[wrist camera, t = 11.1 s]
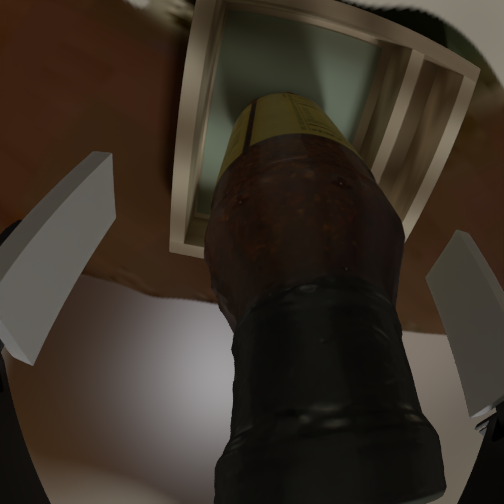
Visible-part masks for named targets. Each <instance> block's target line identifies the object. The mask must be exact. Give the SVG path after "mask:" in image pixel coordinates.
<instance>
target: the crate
mask: <svg viewBox="0 0 504 504" xmlns="http://www.w3.org/2000/svg"><path fill="white" fill-rule="evenodd" d="M479 73H480V68H478V67H476V66H475V65H473V64H472V63H470V62H469V61H467V60H466V59H464V58H462V57H461V56H459V55H457V54H456V53H454V52H452V51H450V50H449V49H447V48H445V47H443V46H442V45H440V44H438V43H436V42H434V41H432V40H430V39H428V38H427V37H425V36H423V35H421V34H419V33H417V32H414V31H412V30H410V29H408V28H406V27H404V26H402V25H399V24H397V23H395V22H392V21H390V20H388V19H385V18H383V17H380V16H378V15H375V14H373V13H370V12H367V11H365V10H362V9H359V8H356V7H353V6H350V5H347V4H344V3H341V2H338V1H335V0H196V4H195V9H194V14H193V19H192V25H191V30H190V36H189V42H188V48H187V55H186V61H185V68H184V75H183V82H182V90H181V98H180V106H179V115H178V124H177V134H176V145H175V157H174V169H173V184H172V201H171V222H170V252H173V253H178V254H183V255H188V256H194V257H199V258H204V246H205V244H204V238H205V233H206V229H207V225H208V221H209V218H210V214H211V212H210V211H211V200H212V196H213V192H214V188H215V185H216V182H217V178H218V175H219V172H220V168H221V165H222V162H223V159H224V156H225V152H226V149H227V146H228V142H229V139H230V136H231V133H232V129H233V127H234V124H235V122H236V120H237V119H238V117H239V115H240V114H241V113H242V112H243V110H244V109H245V108H246V107H247V106H248V105H249V104H250V103H251V102H252V101H253V100H255V99H257V98H260V97H263V96H265V95H269V94H273V93H285V92H291V93H294V94H297V95H299V96H302V97H305V98H307V99H309V100H311V101H313V102H314V103H316V104H317V105H318V106H319V107H320V108H321V109H322V110H323V111H324V112H325V113H326V115H327V116H328V117H329V118H330V119H331V121H332V122H333V123H334V124H335V125H336V127H337V128H338V129H339V130H340V132H341V133H342V134H343V135H344V137H345V138H346V139H347V140H348V141H349V143H350V144H351V145H352V146H353V148H354V149H355V150H356V151H357V152H358V154H359V155H360V157H361V158H362V159H363V160H364V162H365V163H366V164H367V166H368V167H369V169H370V170H371V172H372V174H373V175H374V177H375V180H376V183H377V185H378V186H379V187H380V188H381V190H382V191H383V192H384V194H385V196H386V198H387V199H388V201H389V202H390V204H391V205H392V207H393V208H394V210H395V211H396V213H397V214H398V216H399V217H400V219H401V221H402V225H403V228H404V233H405V242H406V240H407V238H408V236H409V234H410V233H411V231H412V229H413V227H414V225H415V223H416V221H417V220H418V218H419V216H420V214H421V212H422V210H423V208H424V206H425V204H426V202H427V200H428V198H429V196H430V194H431V192H432V190H433V188H434V186H435V184H436V182H437V180H438V178H439V175H440V173H441V171H442V169H443V167H444V164H445V162H446V160H447V158H448V155H449V153H450V151H451V149H452V146H453V144H454V141H455V139H456V137H457V134H458V132H459V129H460V127H461V124H462V121H463V119H464V116H465V114H466V111H467V108H468V105H469V103H470V100H471V97H472V94H473V91H474V88H475V85H476V82H477V79H478V76H479Z"/></svg>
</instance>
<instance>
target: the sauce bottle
mask: <svg viewBox="0 0 504 504" xmlns="http://www.w3.org/2000/svg"><path fill="white" fill-rule="evenodd" d="M210 212H211V214H210V218H209V221H208V225H207V229H206V233H205V238H204V244H205V246H204V260H205V261H206V263H207V265H208V268H209V272H210V275H211V281H212V282H211V288H212V291H213V292H214V294H215V295H216V297H217V299H218V305H219V309H220V311H221V312H222V313H223V315H224V316H225V318H226V319H227V321H228V323H229V325H230V327H231V329H232V331H233V333H234V336H233V344H232V348H231V350H232V354H233V356H234V361H235V362H234V365H235V376H234V381H233V408H232V417H231V426H230V427H231V435H230V440H229V442H228V443H227V445H226V447H225V449H224V451H223V454H222V456H221V457H220V458H219V460H218V461H217V464H216V467H215V483H214V484H215V485H214V487H215V497H214V504H426V503H429V502H431V501H434V500H436V499H438V498H440V497H442V496H443V494H444V492H445V490H446V481H445V476H444V465H443V459H442V453H441V445H440V440H439V435H438V434H437V432H436V430H435V429H434V427H433V426H432V425H431V423H430V422H429V421H428V420H427V418H426V417H425V416H424V414H423V413H422V410H421V407H420V403H419V400H418V396H417V392H416V388H415V384H414V380H413V376H412V373H411V369H410V366H409V363H408V360H407V356H406V353H405V349H404V346H403V342H402V328H401V324H400V321H399V319H398V315H397V312H396V309H395V307H396V299H397V292H398V284H399V275H400V268H401V263H402V258H403V253H404V244H405V233H404V228H403V225H402V221H401V219H400V217H399V216H398V214H397V213H396V211H395V210H394V208H393V207H392V205H391V204H390V202H389V201H388V199H387V198H386V196H385V194H384V192H383V191H382V190H381V188H380V187H379V186H378V185H377V183H376V180H375V177H374V175H373V174H372V172H371V170H370V169H369V167H368V166H367V164H366V163H365V162H364V160H363V159H362V158H361V157H360V155H359V154H358V152H357V151H356V150H355V149H354V148H353V146H352V145H351V144H350V143H349V141H348V140H347V139H346V138H345V137H344V135H343V134H342V133H341V132H340V130H339V129H338V128H337V127H336V125H335V124H334V123H333V122H332V121H331V119H330V118H329V117H328V116H327V115H326V113H325V112H324V111H323V110H322V109H321V108H320V107H319V106H318V105H317V104H316V103H314V102H313V101H311V100H309V99H307V98H305V97H302V96H299V95H297V94H294V93H291V92H285V93H273V94H269V95H265V96H263V97H260V98H257V99H255V100H253V101H252V102H251V103H250V104H249V105H248V106H247V107H246V108H245V109H244V110H243V112H242V113H241V114H240V115H239V117H238V119H237V120H236V122H235V124H234V127H233V129H232V133H231V136H230V139H229V142H228V146H227V149H226V152H225V156H224V159H223V162H222V165H221V168H220V172H219V175H218V178H217V182H216V185H215V188H214V192H213V196H212V200H211V211H210Z"/></svg>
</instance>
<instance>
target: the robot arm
mask: <svg viewBox="0 0 504 504" xmlns="http://www.w3.org/2000/svg"><path fill="white" fill-rule="evenodd" d="M115 219H116V213H115V201H114V185H113V164H112V153H106V152H97V151H93V152H92V153H91V154H90V155H89V156H87V157H86V158H85V159H84V160H83V161H82V162H81V163H79V164H78V165H77V166H76V167H75V168H74V169H73V170H72V171H71V172H70V173H69V174H67V175H66V176H65V177H64V178H63V179H62V180H61V181H60V182H59V183H58V184H57V185H56V186H55V187H54V188H53V189H52V190H51V191H50V192H49V193H48V194H47V195H46V196H45V197H44V198H43V199H42V200H41V201H40V202H39V203H38V204H37V205H36V206H35V207H34V208H33V209H32V211H31V212H30V213H29V214H28V215H27V216H26V217H25V218H24V219H23V220H18V221H16V222H15V223H13V224H12V225H10V226H9V227H8V228H6V229H5V230H4V231H3V232H2V233H1V235H0V504H51V503H50V501H49V499H48V497H47V495H46V493H45V491H44V488H43V486H42V484H41V482H40V480H39V477H38V475H37V472H36V470H35V468H34V465H33V463H32V460H31V457H30V455H29V452H28V449H27V446H26V444H25V441H24V438H23V435H22V431H21V429H20V425H19V422H18V419H17V415H16V412H15V408H14V404H13V400H12V396H11V392H10V387H9V383H8V378H7V373H6V368H5V363H4V359H3V357H2V354H1V351H2V349H3V347H4V346H5V347H6V348H7V350H8V351H9V352H10V354H11V355H12V356H13V357H15V358H17V359H19V360H21V361H23V362H26V363H28V364H30V365H32V366H33V365H34V362H35V360H36V358H37V356H38V354H39V352H40V349H41V347H42V345H43V343H44V341H45V339H46V337H47V335H48V333H49V331H50V329H51V327H52V325H53V323H54V320H55V319H56V317H57V315H58V313H59V311H60V309H61V307H62V306H63V304H64V302H65V300H66V298H67V296H68V294H69V293H70V291H71V289H72V287H73V286H74V284H75V282H76V281H77V279H78V277H79V275H80V274H81V272H82V270H83V269H84V267H85V265H86V264H87V262H88V260H89V259H90V257H91V255H92V254H93V252H94V251H95V249H96V247H97V246H98V244H99V243H100V241H101V240H102V238H103V237H104V235H105V234H106V232H107V230H108V229H109V227H110V226H111V224H112V223H113V221H114V220H115ZM425 279H426V282H427V284H428V286H429V289H430V291H431V294H432V296H433V299H434V302H435V304H436V307H437V309H438V312H439V315H440V318H441V320H442V323H443V326H444V329H445V332H446V335H447V337H448V340H449V343H450V347H451V350H452V353H453V356H454V359H455V363H456V366H457V369H458V373H459V376H460V380H461V384H462V388H463V391H464V395H465V399H466V403H467V408H468V412H469V417H470V418H471V417H477V416H481V415H484V414H485V413H487V412H489V411H490V410H492V409H493V408H494V407H496V411H497V412H496V413H494V414H493V415H491V416H490V417H488V418H487V419H485V420H483V421H482V422H480V423H479V424H477V426H476V428H475V429H476V430H477V429H479V428H481V427H483V426H484V425H486V427H485V428H483V429H481V430H480V431H479V433H481V434H482V435H483V436H484V439H483V442H482V445H481V448H480V450H479V453H478V456H477V459H476V461H475V464H474V467H473V469H472V472H471V474H470V477H469V479H468V481H467V484H466V486H465V488H464V491H463V493H462V495H461V497H460V499H459V501H458V503H457V504H504V292H503V290H502V288H501V286H500V284H499V282H498V281H497V279H496V277H495V275H494V273H493V272H492V270H491V268H490V267H489V265H488V263H487V262H486V260H485V258H484V257H483V255H482V253H481V252H480V250H479V249H478V247H477V245H476V244H475V242H474V241H473V239H472V238H471V236H470V235H469V233H466V232H463V231H460V230H456V231H455V233H454V234H453V236H452V238H451V239H450V241H449V243H448V244H447V246H446V247H445V249H444V250H443V252H442V253H441V255H440V257H439V258H438V260H437V261H436V263H435V264H434V266H433V267H432V269H431V270H430V271H429V273H428V274H427V276H426V277H425Z"/></svg>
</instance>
